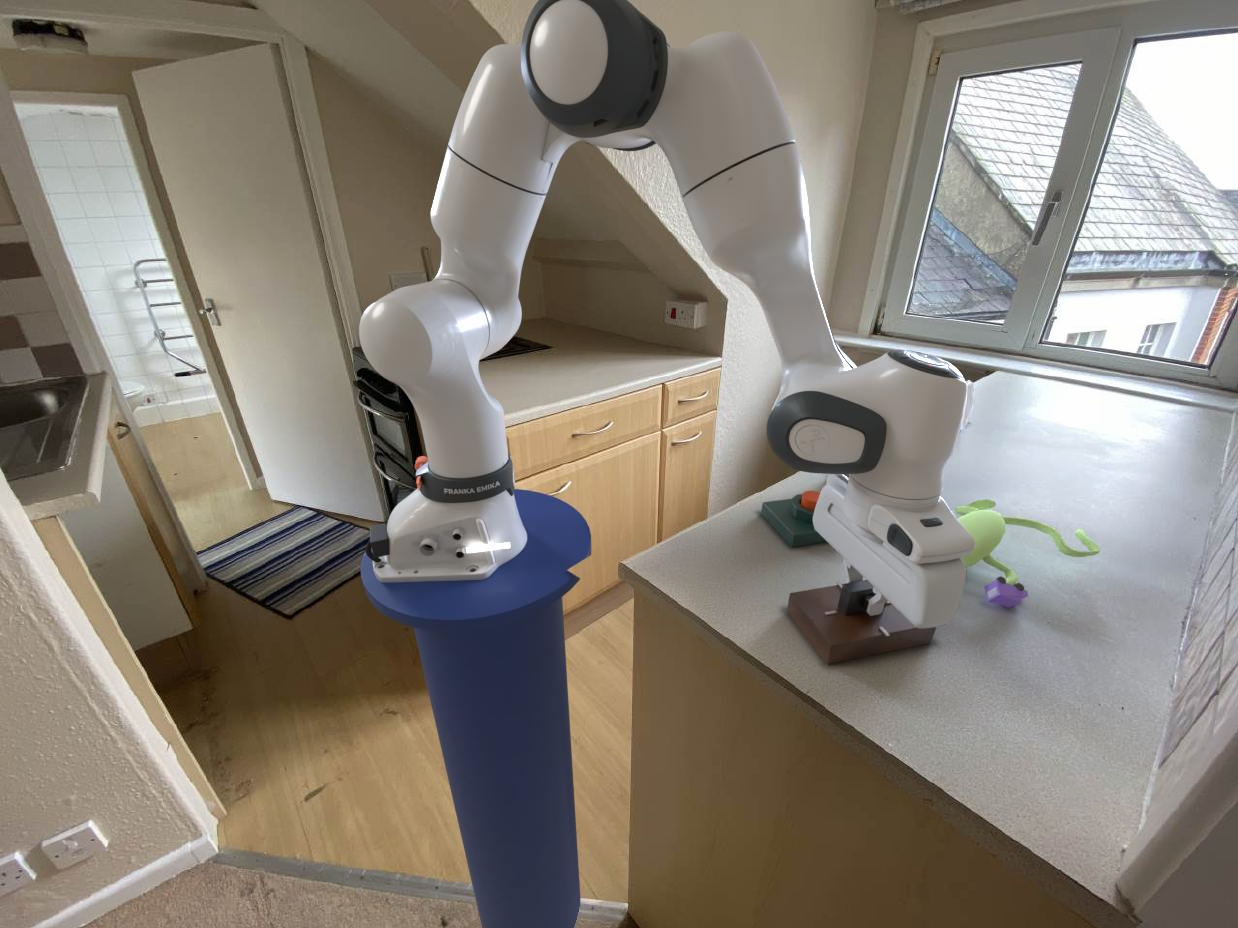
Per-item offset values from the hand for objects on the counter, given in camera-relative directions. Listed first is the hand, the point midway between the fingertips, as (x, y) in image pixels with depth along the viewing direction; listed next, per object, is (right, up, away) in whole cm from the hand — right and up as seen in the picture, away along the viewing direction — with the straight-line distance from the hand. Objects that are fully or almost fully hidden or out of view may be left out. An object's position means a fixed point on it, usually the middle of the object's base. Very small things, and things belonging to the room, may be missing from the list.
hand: (862, 601), depth 64 cm
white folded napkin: (+50, +25, +60) cm, 82 cm away
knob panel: (0, -3, +2) cm, 4 cm away
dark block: (0, -1, 0) cm, 1 cm away
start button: (+2, +10, +21) cm, 23 cm away
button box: (+2, +7, +22) cm, 23 cm away
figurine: (+24, +3, +15) cm, 28 cm away
